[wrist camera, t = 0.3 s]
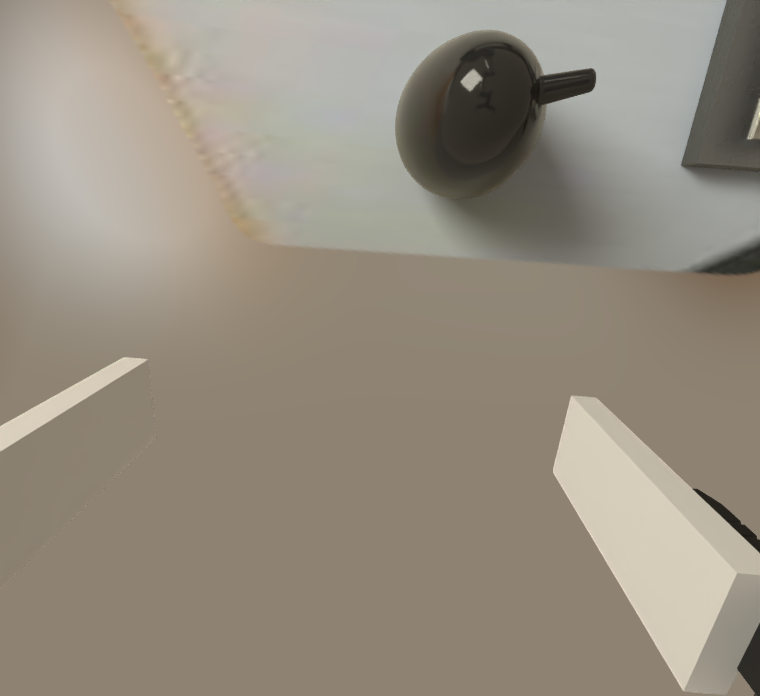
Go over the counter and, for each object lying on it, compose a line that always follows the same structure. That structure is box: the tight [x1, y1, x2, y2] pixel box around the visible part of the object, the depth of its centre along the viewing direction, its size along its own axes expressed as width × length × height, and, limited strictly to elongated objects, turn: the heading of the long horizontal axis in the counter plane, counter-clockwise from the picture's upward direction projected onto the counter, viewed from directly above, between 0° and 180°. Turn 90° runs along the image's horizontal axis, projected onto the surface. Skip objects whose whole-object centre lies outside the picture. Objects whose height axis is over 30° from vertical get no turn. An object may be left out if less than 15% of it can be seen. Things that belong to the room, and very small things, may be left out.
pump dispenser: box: [395, 30, 596, 199], centre depth 28 cm, size 10×10×15 cm
